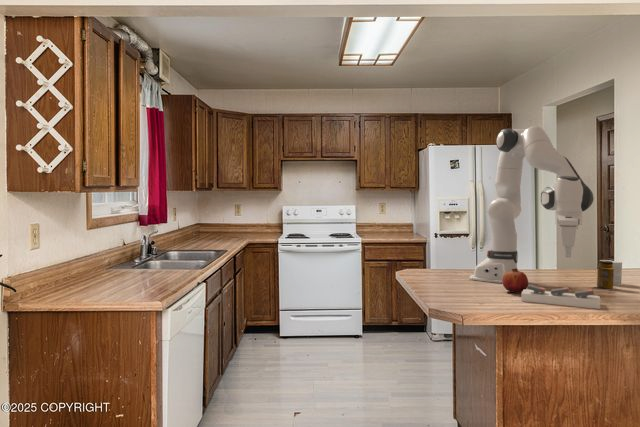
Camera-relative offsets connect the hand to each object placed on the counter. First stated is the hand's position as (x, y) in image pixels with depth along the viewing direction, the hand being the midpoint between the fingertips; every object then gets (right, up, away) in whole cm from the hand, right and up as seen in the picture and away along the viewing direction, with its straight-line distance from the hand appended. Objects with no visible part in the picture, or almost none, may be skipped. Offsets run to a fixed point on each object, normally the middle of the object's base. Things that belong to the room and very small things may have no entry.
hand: (568, 257), depth 178 cm
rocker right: (+5, -13, -2) cm, 14 cm away
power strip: (-2, -17, +3) cm, 18 cm away
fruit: (-11, -17, +21) cm, 29 cm away
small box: (+40, -16, +41) cm, 60 cm away
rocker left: (-9, -13, +5) cm, 17 cm away
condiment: (+31, -17, +30) cm, 47 cm away
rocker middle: (-2, -13, +2) cm, 13 cm away
